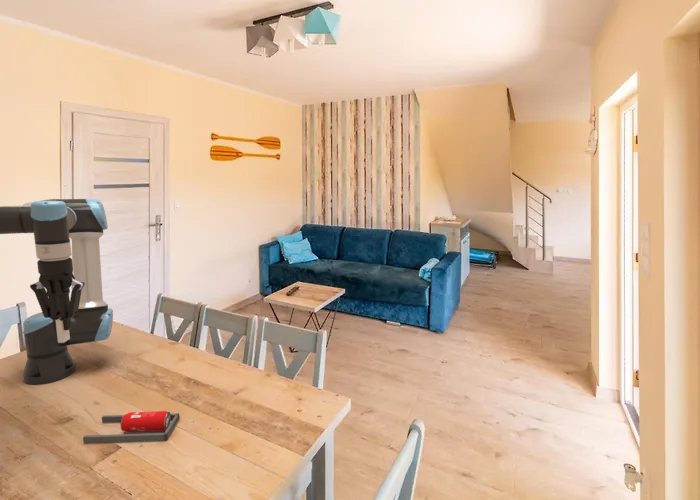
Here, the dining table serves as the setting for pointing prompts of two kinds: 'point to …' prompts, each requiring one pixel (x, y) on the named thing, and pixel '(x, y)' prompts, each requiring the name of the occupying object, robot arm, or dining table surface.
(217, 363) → the dining table surface
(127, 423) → the beverage can
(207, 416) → the dining table surface
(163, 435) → the grey u-shaped frame
